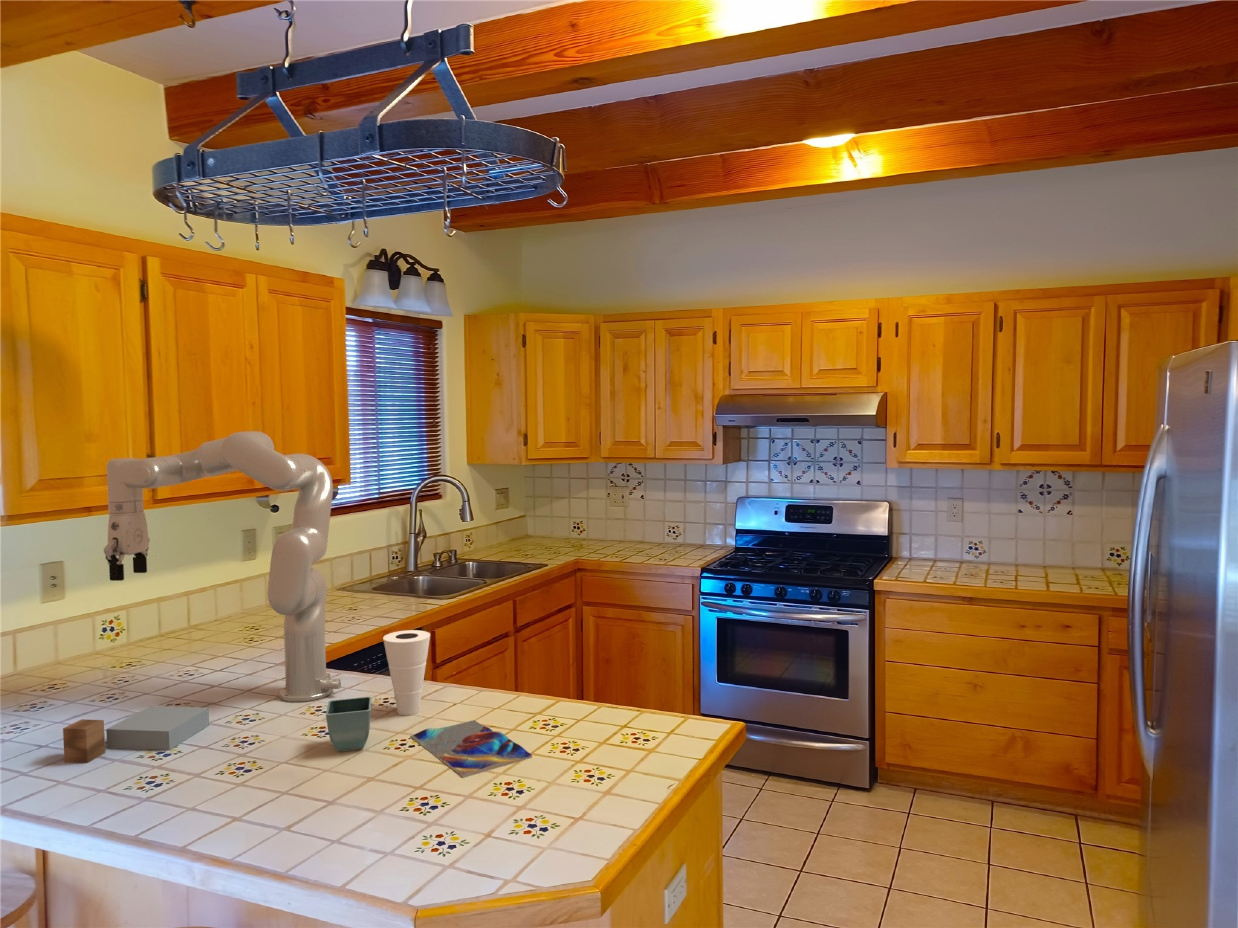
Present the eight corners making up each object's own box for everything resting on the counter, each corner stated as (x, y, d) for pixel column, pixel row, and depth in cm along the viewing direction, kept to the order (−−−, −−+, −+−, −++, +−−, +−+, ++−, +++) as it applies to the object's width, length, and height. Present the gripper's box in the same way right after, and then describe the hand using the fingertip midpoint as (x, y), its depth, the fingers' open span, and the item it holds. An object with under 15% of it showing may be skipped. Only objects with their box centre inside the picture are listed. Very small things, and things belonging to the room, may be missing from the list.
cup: (441, 709, 197) (439, 634, 196) (406, 723, 188) (404, 644, 187) (410, 700, 203) (408, 627, 202) (375, 714, 194) (373, 637, 193)
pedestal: (209, 725, 188) (208, 707, 188) (169, 749, 174) (168, 731, 174) (150, 723, 189) (150, 705, 189) (107, 747, 175) (106, 729, 175)
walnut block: (105, 753, 173) (103, 719, 172) (87, 763, 168) (85, 729, 167) (82, 752, 173) (81, 719, 173) (64, 762, 168) (62, 728, 168)
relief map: (410, 740, 180) (410, 730, 180) (474, 723, 189) (474, 715, 189) (463, 780, 160) (463, 770, 160) (532, 760, 169) (531, 751, 169)
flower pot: (326, 757, 170) (325, 714, 169) (329, 741, 178) (328, 699, 178) (371, 752, 172) (370, 709, 172) (372, 736, 181) (371, 695, 180)
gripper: (120, 512, 198) (123, 583, 199) (160, 504, 215) (163, 569, 216) (88, 512, 198) (91, 583, 199) (131, 504, 215) (134, 569, 216)
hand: (128, 576), depth 208 cm, fingers open, 9 cm apart
